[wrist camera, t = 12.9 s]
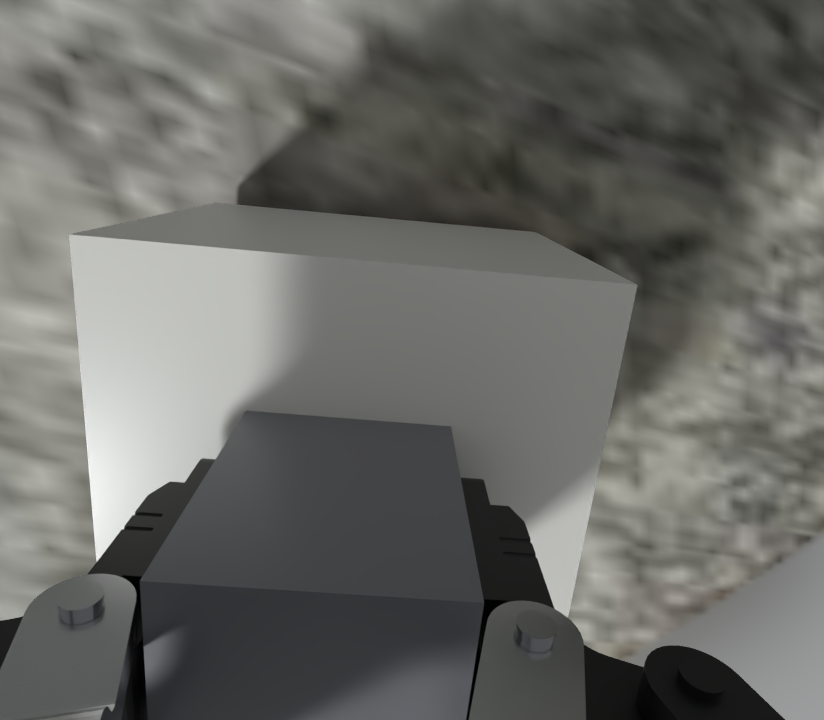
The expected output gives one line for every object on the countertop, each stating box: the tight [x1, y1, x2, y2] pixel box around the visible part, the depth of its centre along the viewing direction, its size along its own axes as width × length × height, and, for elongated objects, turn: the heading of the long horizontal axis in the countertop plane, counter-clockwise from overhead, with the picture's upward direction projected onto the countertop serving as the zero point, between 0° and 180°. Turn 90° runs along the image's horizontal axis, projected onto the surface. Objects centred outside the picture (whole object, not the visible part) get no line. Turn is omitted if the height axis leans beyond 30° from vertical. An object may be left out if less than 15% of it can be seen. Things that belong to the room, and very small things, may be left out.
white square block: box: [69, 203, 638, 720], centre depth 14 cm, size 10×10×14 cm
